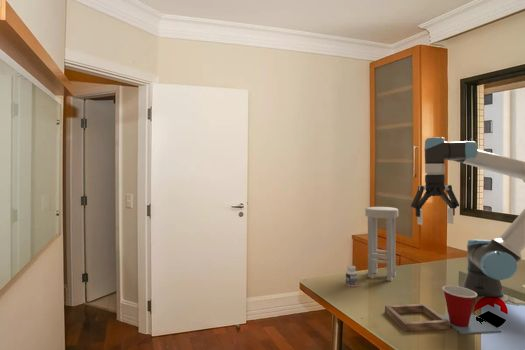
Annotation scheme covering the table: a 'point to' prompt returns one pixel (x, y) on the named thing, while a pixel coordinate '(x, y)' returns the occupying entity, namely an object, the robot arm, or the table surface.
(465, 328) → the coaster
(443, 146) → the robot arm
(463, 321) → the plastic cup
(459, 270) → the table surface
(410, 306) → the wooden frame
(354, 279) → the pill bottle
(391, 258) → the stool
